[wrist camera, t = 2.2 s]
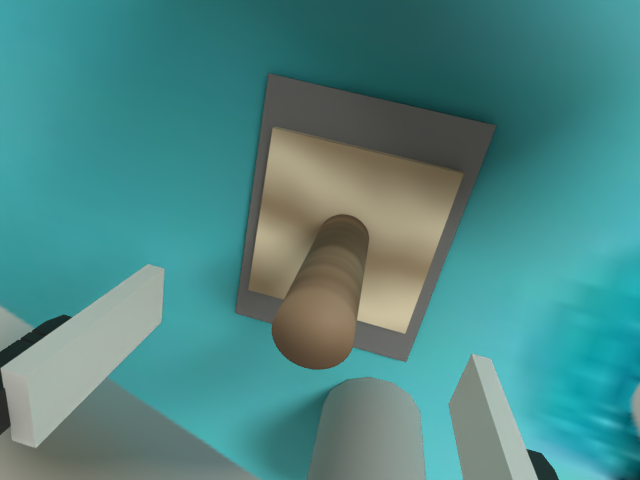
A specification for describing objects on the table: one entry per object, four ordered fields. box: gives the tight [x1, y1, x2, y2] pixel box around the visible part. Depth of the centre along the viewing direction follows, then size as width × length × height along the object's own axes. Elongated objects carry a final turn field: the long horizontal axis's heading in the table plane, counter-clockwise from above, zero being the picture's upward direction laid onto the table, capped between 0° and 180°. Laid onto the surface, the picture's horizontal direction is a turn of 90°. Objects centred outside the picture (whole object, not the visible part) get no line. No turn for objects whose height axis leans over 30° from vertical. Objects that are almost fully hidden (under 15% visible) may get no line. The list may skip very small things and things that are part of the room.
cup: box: [307, 377, 426, 480], centre depth 28 cm, size 8×8×10 cm
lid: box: [248, 127, 464, 370], centre depth 21 cm, size 12×12×12 cm
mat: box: [235, 73, 496, 362], centre depth 26 cm, size 18×14×1 cm
